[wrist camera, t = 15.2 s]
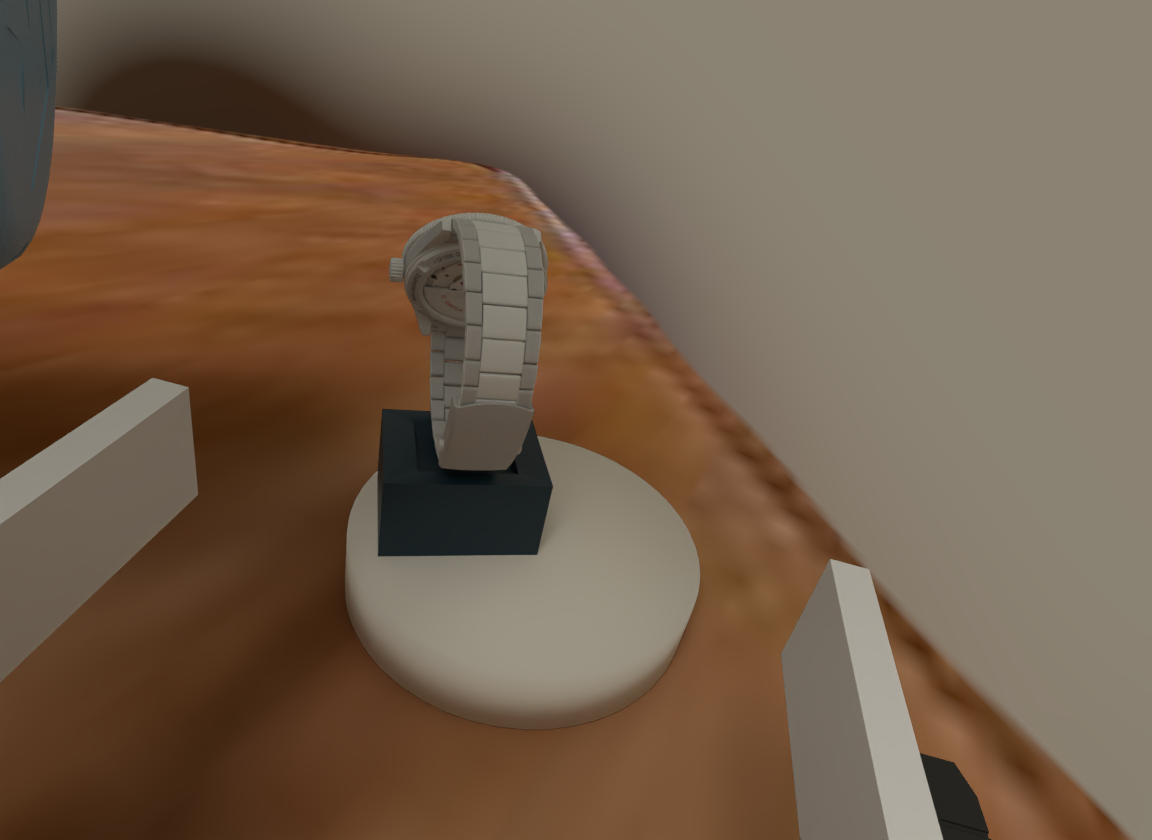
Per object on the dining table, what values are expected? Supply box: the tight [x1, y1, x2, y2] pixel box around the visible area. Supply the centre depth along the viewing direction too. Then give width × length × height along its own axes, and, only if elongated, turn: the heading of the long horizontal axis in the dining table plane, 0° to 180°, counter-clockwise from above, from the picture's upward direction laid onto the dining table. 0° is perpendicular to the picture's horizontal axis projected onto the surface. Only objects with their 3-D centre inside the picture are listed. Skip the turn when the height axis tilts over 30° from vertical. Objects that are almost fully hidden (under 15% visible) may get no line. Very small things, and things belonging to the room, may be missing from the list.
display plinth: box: [345, 436, 700, 730], centre depth 28 cm, size 13×13×2 cm
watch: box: [377, 213, 553, 556], centre depth 24 cm, size 6×8×11 cm
